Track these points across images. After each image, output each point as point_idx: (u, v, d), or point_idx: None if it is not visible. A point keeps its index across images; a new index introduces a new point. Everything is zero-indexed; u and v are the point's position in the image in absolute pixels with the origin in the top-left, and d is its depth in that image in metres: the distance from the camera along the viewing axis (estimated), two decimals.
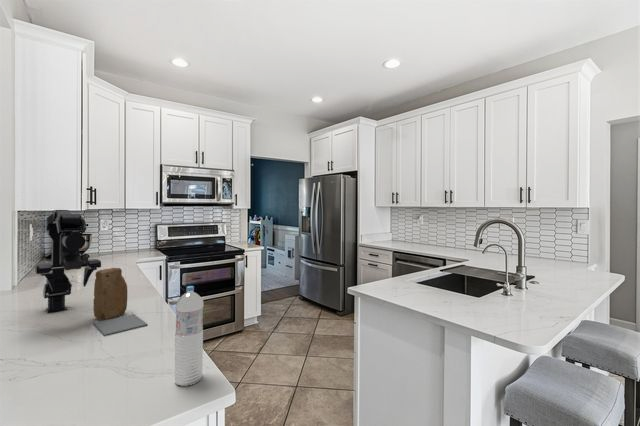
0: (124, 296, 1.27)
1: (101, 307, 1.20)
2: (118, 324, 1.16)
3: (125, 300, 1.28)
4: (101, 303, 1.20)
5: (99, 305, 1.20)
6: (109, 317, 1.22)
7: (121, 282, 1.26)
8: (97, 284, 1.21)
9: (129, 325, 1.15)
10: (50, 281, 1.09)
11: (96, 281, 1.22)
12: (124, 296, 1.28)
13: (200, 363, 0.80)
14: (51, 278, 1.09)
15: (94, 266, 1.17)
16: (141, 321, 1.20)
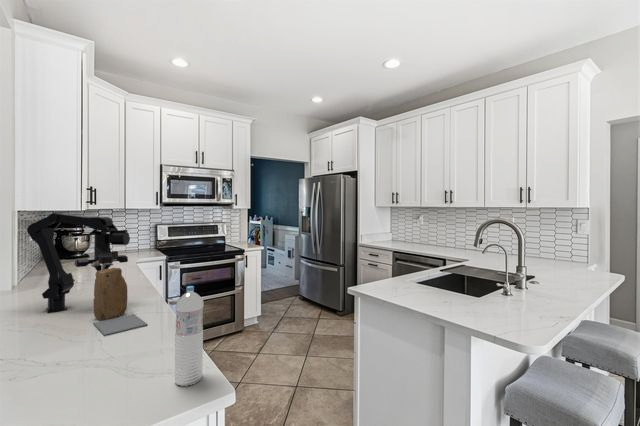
0: (124, 296, 1.27)
1: (101, 307, 1.20)
2: (118, 324, 1.16)
3: (125, 300, 1.28)
4: (101, 303, 1.20)
5: (99, 305, 1.20)
6: (109, 317, 1.22)
7: (121, 282, 1.26)
8: (97, 284, 1.21)
9: (129, 325, 1.15)
10: None
11: (96, 281, 1.22)
12: (125, 296, 1.27)
13: (200, 363, 0.80)
14: (100, 269, 1.33)
15: (122, 261, 1.38)
16: (141, 321, 1.20)
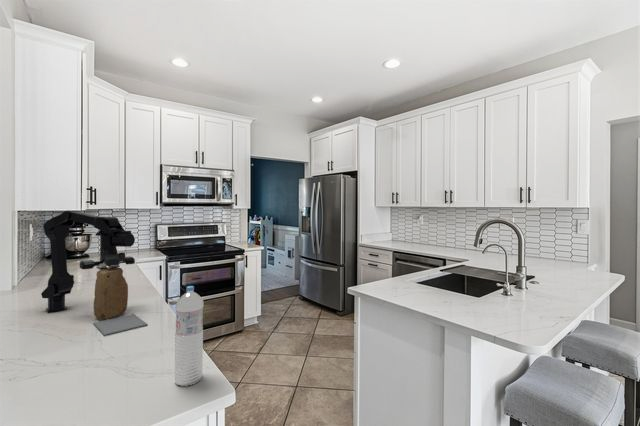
0: (124, 296, 1.27)
1: (102, 307, 1.20)
2: (118, 324, 1.16)
3: (125, 300, 1.28)
4: (101, 303, 1.20)
5: (99, 305, 1.20)
6: (109, 317, 1.22)
7: (122, 283, 1.26)
8: (98, 284, 1.21)
9: (129, 325, 1.15)
10: None
11: (97, 281, 1.21)
12: (125, 296, 1.27)
13: (200, 363, 0.80)
14: None
15: (129, 262, 1.33)
16: (141, 321, 1.20)
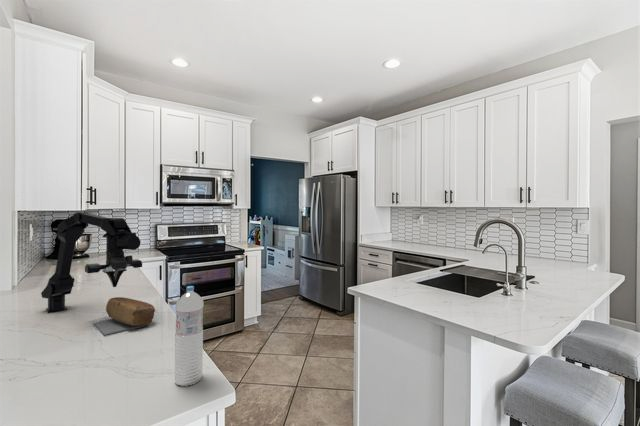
0: None
1: (110, 317, 1.18)
2: (118, 324, 1.16)
3: None
4: (112, 317, 1.17)
5: (112, 314, 1.17)
6: None
7: None
8: (124, 315, 1.13)
9: (129, 325, 1.15)
10: (112, 278, 1.21)
11: (127, 312, 1.13)
12: None
13: (200, 363, 0.80)
14: (113, 275, 1.21)
15: (136, 266, 1.26)
16: None
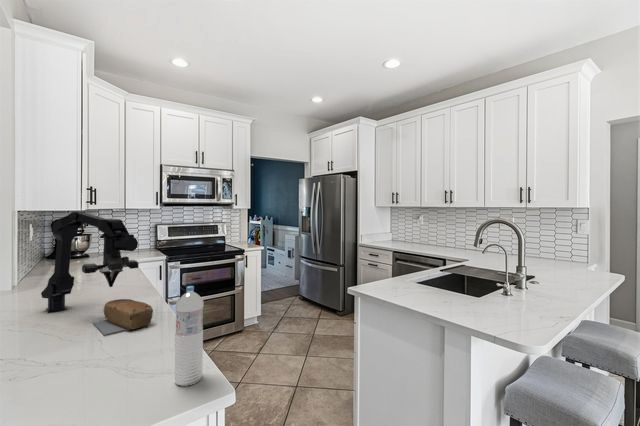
0: None
1: None
2: None
3: None
4: None
5: (110, 319, 1.16)
6: None
7: None
8: (122, 319, 1.13)
9: None
10: (108, 278, 1.24)
11: (124, 316, 1.12)
12: None
13: (200, 363, 0.80)
14: (109, 276, 1.24)
15: (133, 267, 1.29)
16: None
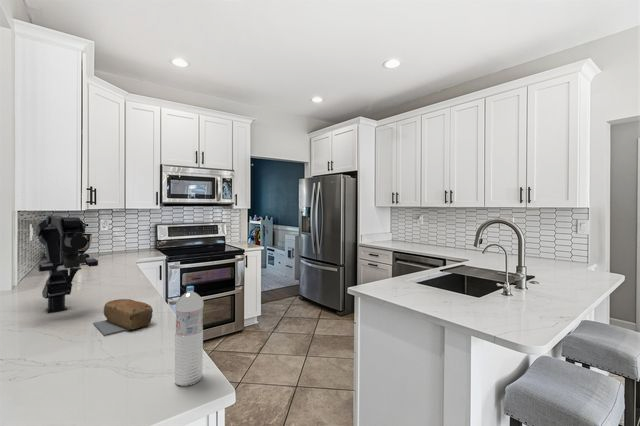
0: None
1: None
2: None
3: None
4: None
5: (110, 319, 1.16)
6: None
7: None
8: (122, 319, 1.13)
9: None
10: (66, 276, 1.23)
11: (124, 316, 1.12)
12: None
13: (200, 363, 0.80)
14: (67, 274, 1.23)
15: (91, 265, 1.28)
16: None
